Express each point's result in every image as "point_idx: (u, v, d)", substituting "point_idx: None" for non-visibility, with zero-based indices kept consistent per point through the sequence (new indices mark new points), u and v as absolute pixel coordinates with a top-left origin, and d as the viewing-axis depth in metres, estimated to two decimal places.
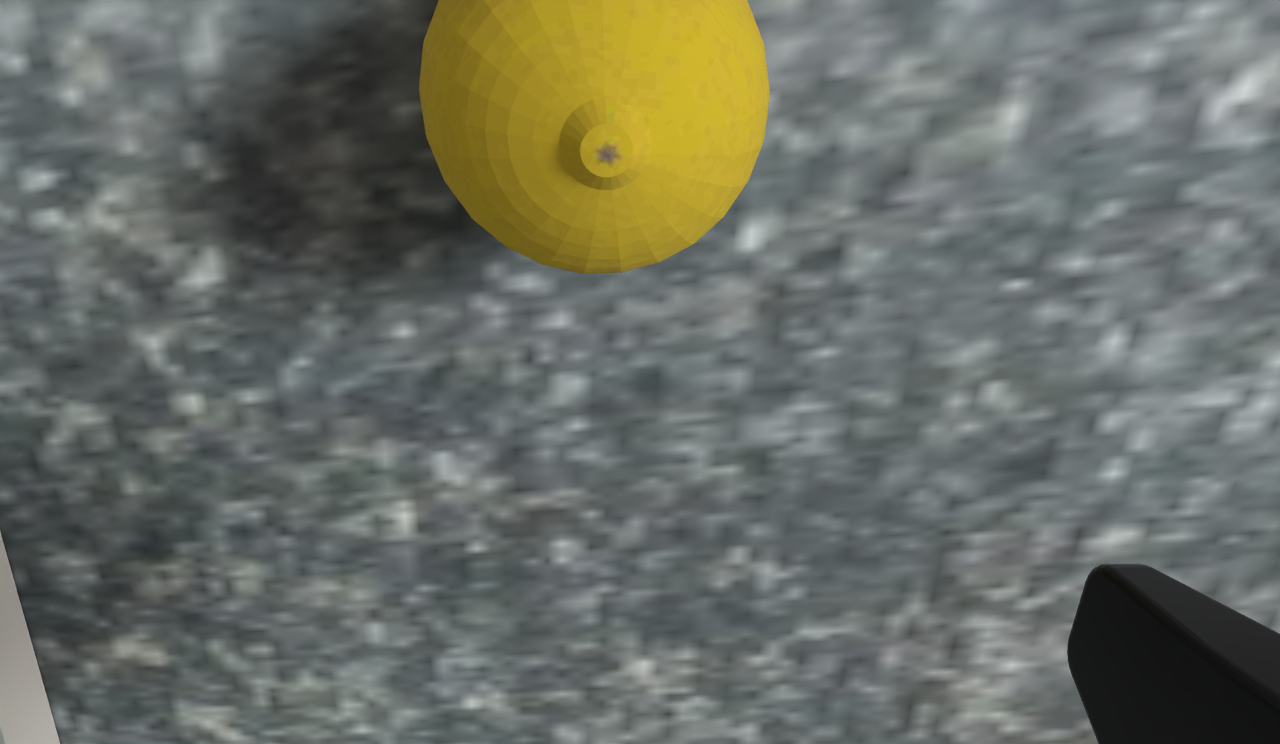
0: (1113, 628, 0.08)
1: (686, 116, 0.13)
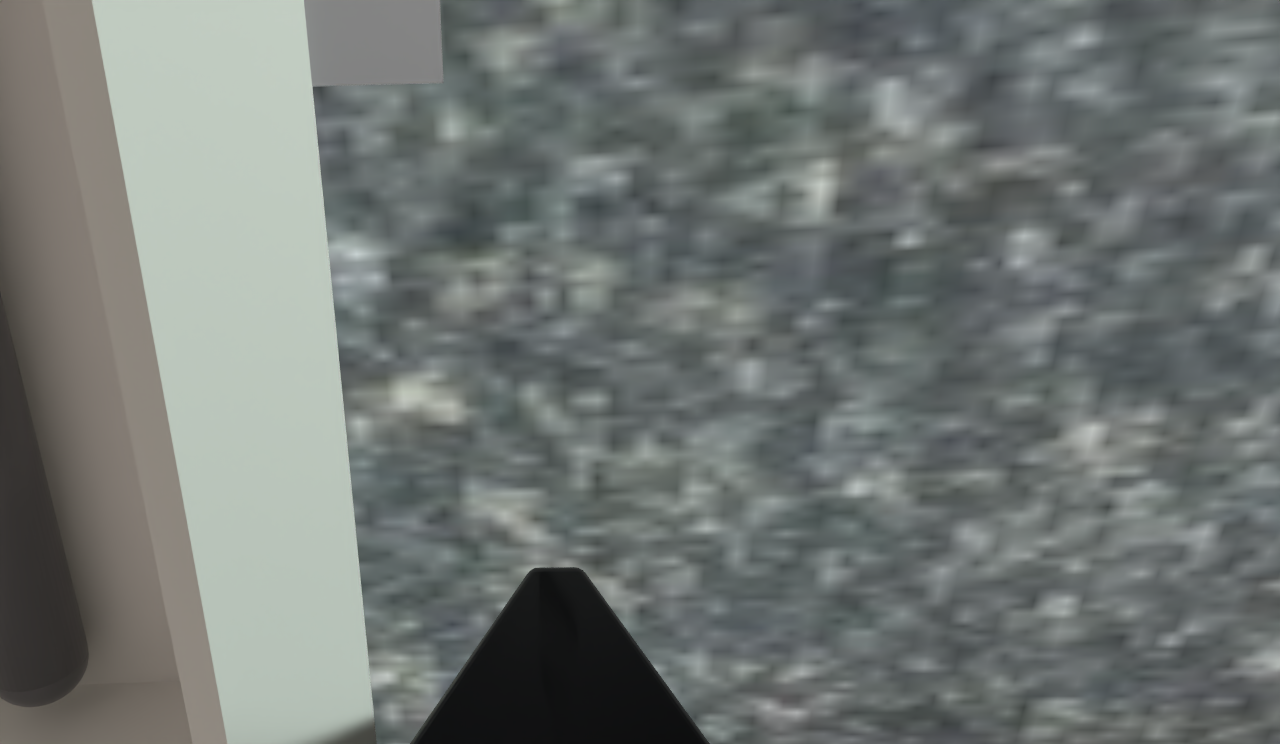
0: None
1: None
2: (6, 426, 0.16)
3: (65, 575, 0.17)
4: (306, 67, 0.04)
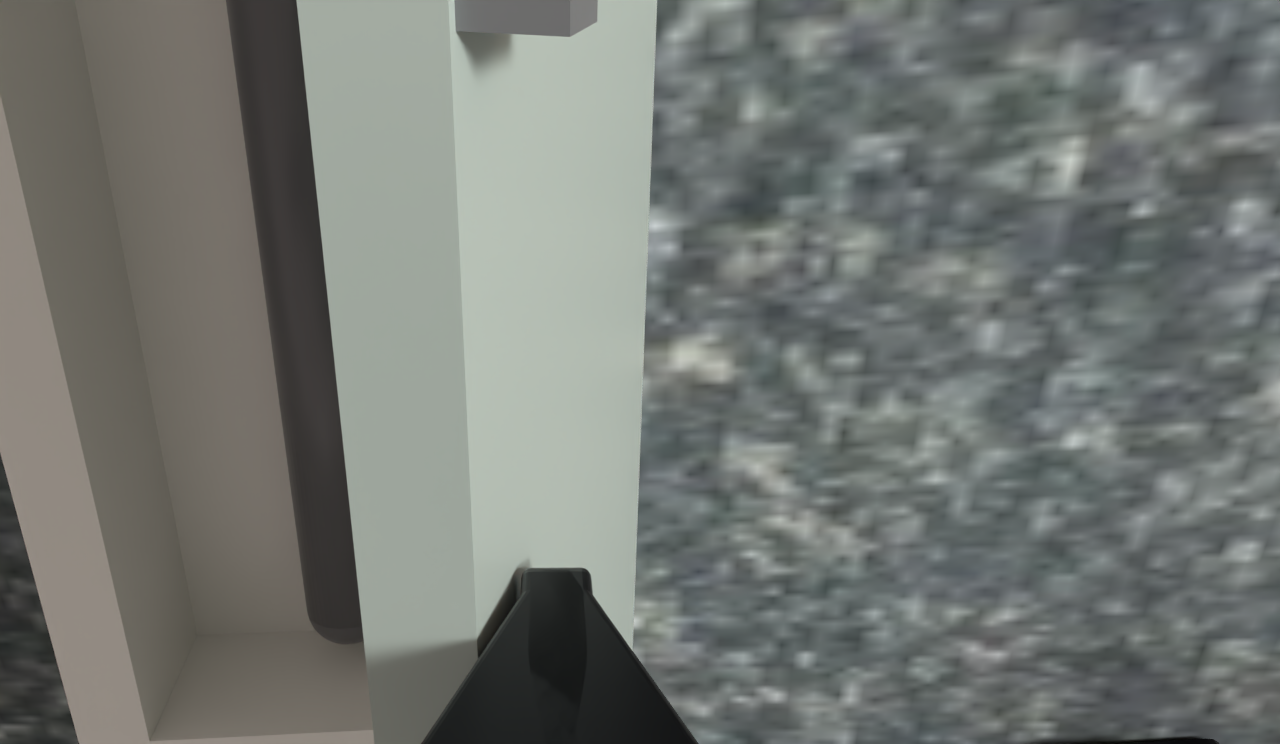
0: None
1: None
2: None
3: None
4: (445, 12, 0.05)
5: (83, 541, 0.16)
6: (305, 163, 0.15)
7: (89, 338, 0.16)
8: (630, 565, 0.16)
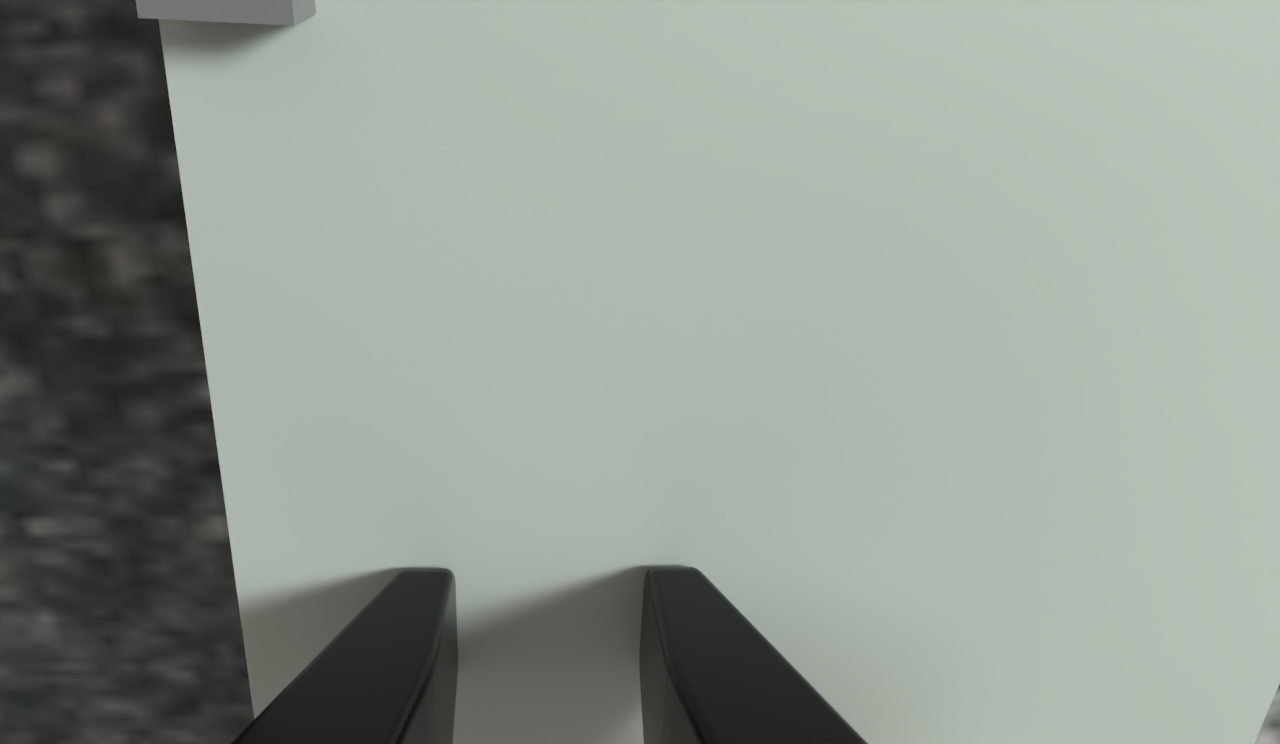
0: (649, 633, 0.08)
1: None
2: None
3: None
4: None
5: None
6: None
7: None
8: None
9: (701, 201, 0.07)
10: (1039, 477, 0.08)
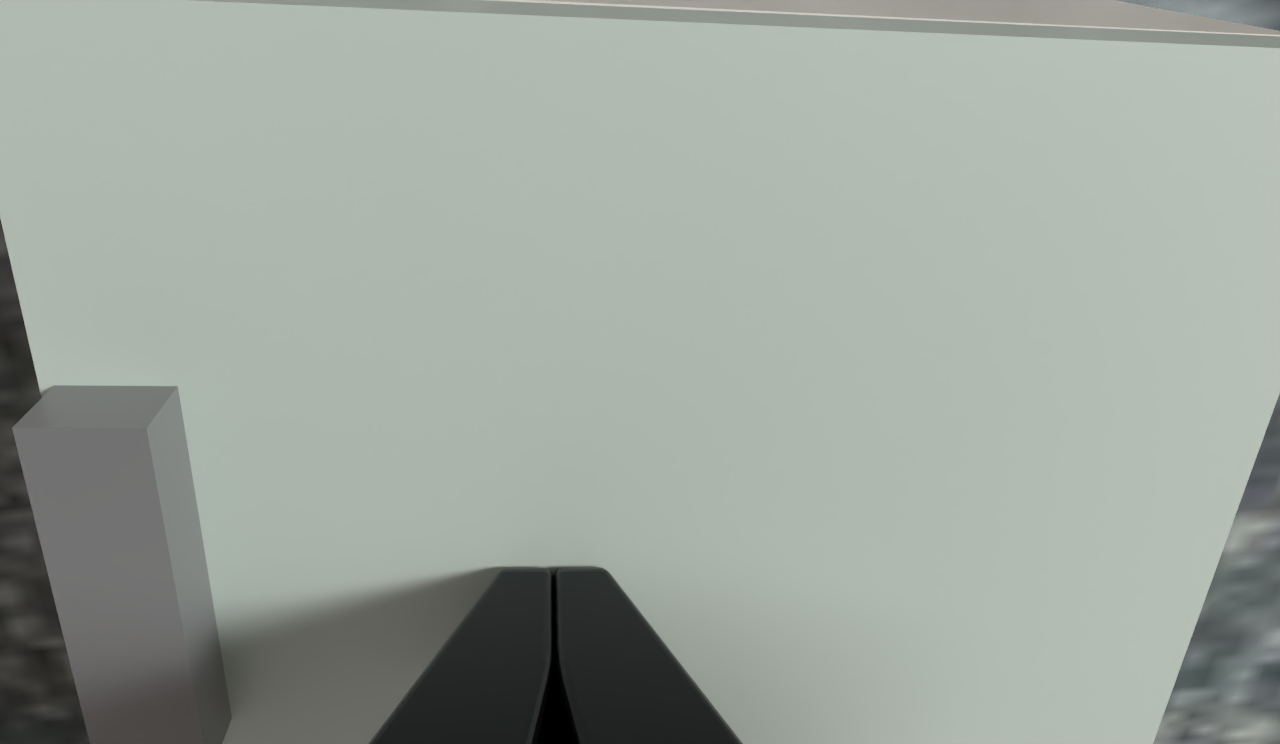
0: None
1: None
2: None
3: None
4: None
5: None
6: None
7: None
8: None
9: None
10: None
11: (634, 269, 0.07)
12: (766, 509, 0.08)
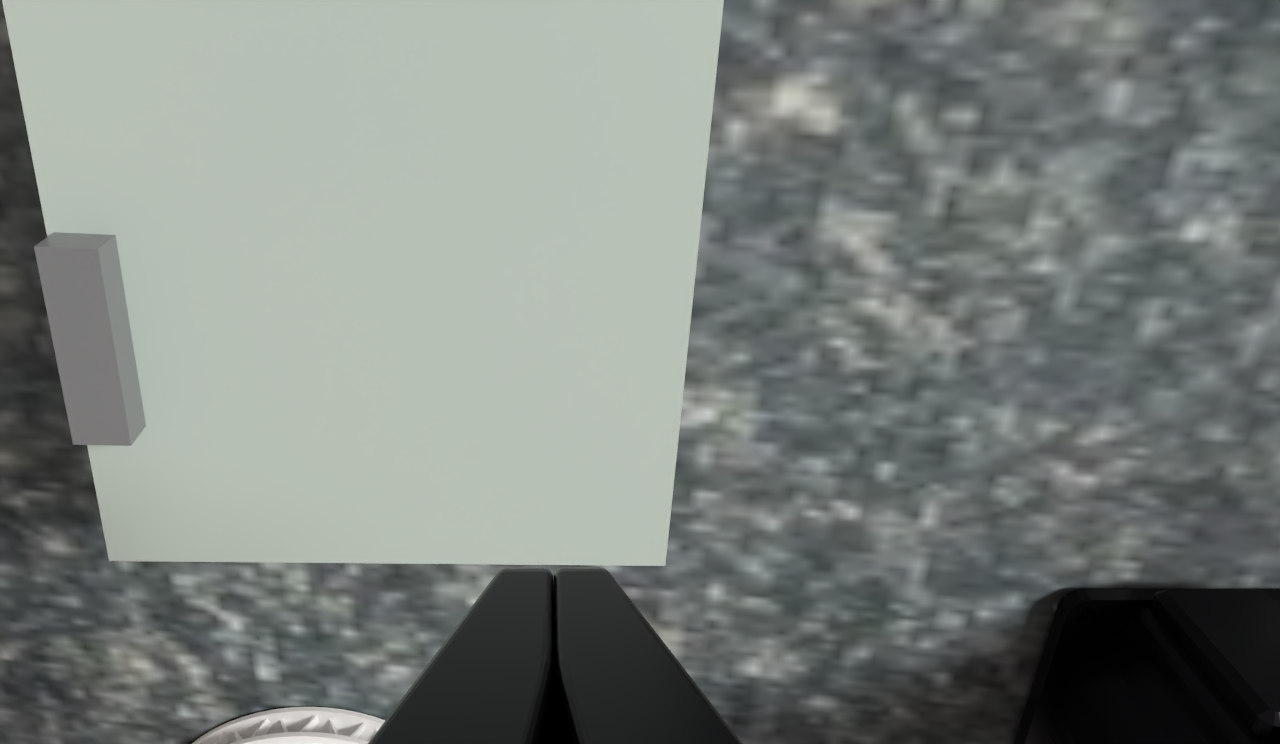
0: None
1: None
2: None
3: None
4: None
5: None
6: None
7: None
8: (648, 268, 0.15)
9: None
10: None
11: None
12: None
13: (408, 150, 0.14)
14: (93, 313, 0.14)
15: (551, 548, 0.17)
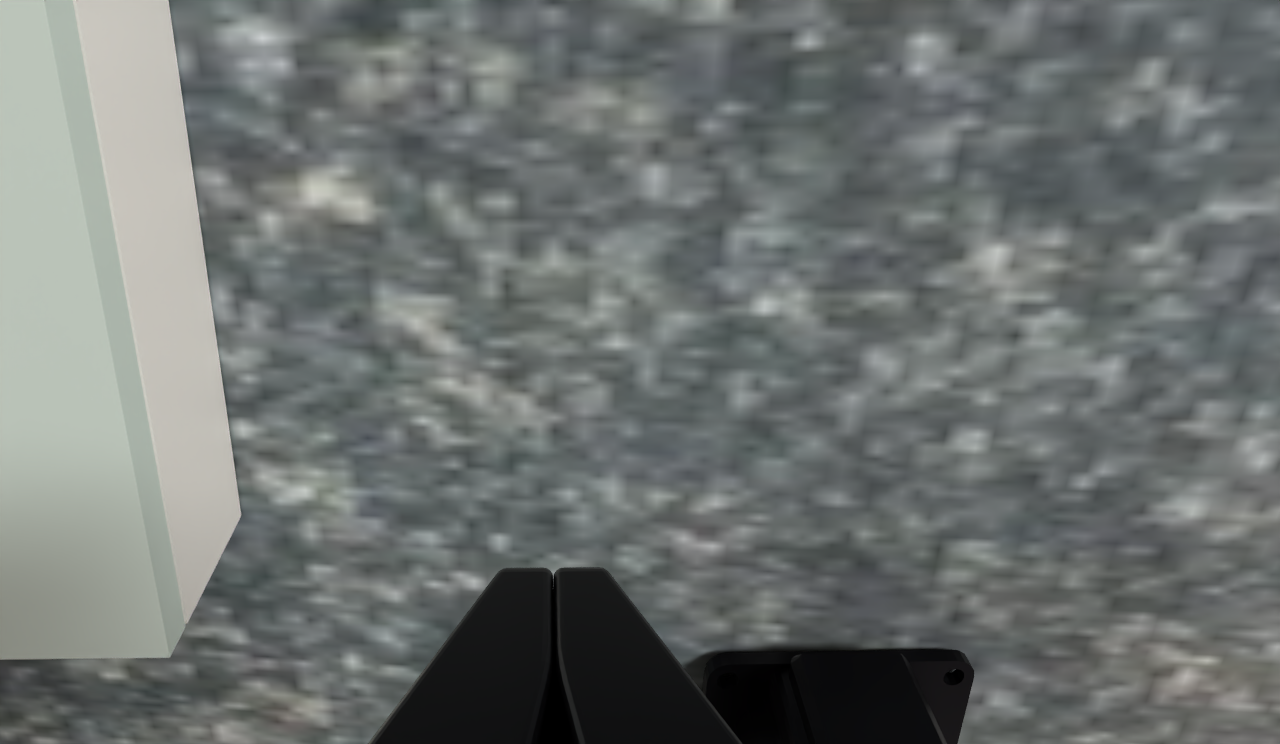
0: None
1: None
2: None
3: None
4: None
5: None
6: None
7: None
8: (68, 379, 0.15)
9: None
10: None
11: None
12: None
13: None
14: None
15: (48, 643, 0.17)
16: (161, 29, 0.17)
